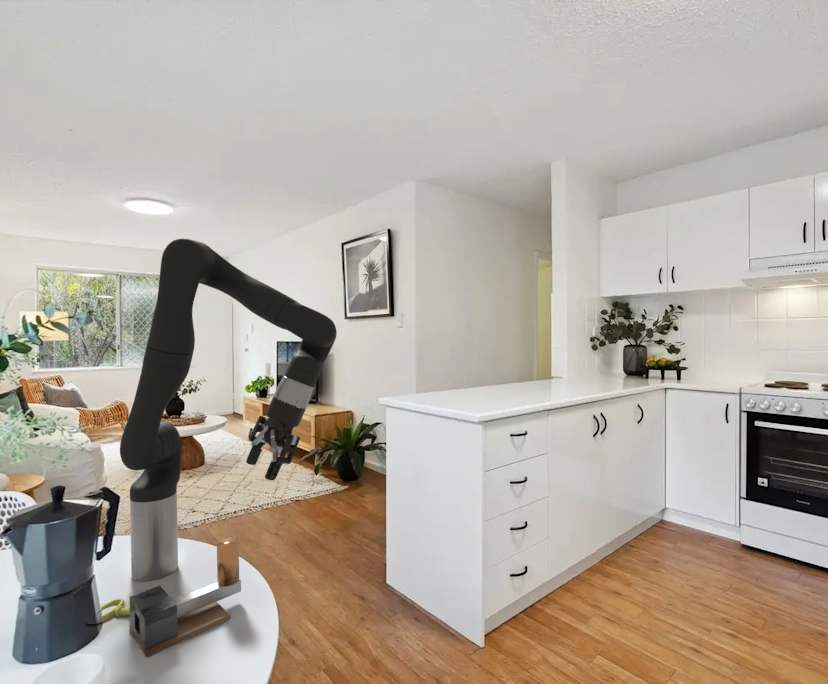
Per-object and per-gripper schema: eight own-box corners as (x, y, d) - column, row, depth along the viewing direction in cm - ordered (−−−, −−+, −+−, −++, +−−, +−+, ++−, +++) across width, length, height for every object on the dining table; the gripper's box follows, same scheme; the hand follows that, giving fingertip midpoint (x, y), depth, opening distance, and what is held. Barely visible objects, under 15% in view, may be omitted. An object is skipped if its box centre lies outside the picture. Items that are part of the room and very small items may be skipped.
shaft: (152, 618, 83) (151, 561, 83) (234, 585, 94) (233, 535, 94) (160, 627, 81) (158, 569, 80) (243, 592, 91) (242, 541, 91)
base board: (129, 630, 83) (129, 625, 83) (208, 598, 93) (208, 593, 93) (146, 657, 76) (146, 651, 76) (229, 619, 86) (229, 614, 86)
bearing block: (130, 626, 83) (129, 596, 83) (160, 614, 87) (160, 585, 87) (145, 650, 77) (144, 617, 77) (177, 636, 80) (176, 604, 80)
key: (151, 621, 87) (151, 610, 87) (80, 628, 85) (79, 617, 85) (166, 599, 94) (166, 589, 94) (100, 605, 92) (100, 595, 92)
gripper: (260, 387, 103) (229, 456, 101) (294, 405, 94) (260, 482, 92) (287, 396, 109) (258, 462, 107) (321, 414, 99) (290, 487, 97)
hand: (259, 471), depth 99 cm, fingers open, 8 cm apart
